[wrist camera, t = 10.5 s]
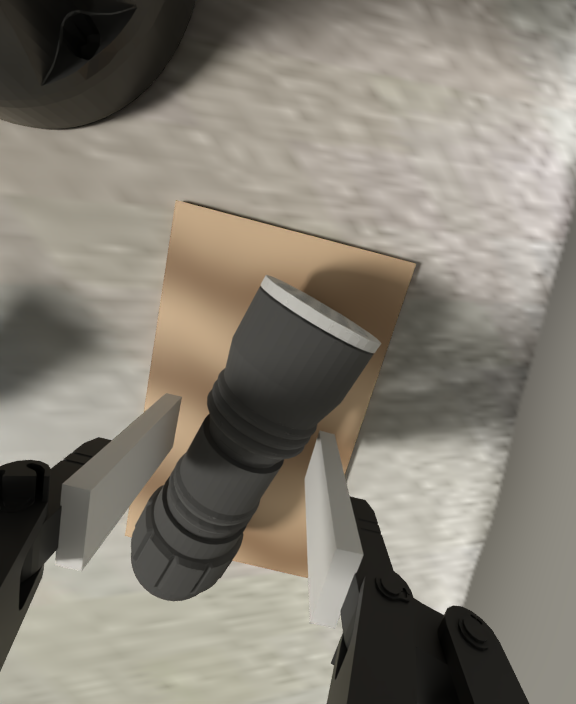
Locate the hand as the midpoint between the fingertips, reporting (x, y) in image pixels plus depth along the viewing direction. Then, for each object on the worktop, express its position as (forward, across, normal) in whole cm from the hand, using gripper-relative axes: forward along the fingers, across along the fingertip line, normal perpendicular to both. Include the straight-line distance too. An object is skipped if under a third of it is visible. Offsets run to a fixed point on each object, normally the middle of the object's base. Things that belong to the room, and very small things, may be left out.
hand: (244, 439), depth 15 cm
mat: (+3, 0, 0) cm, 3 cm away
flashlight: (+3, 0, 0) cm, 3 cm away
